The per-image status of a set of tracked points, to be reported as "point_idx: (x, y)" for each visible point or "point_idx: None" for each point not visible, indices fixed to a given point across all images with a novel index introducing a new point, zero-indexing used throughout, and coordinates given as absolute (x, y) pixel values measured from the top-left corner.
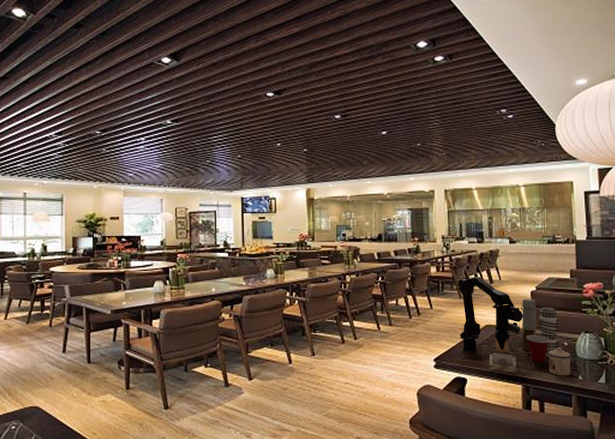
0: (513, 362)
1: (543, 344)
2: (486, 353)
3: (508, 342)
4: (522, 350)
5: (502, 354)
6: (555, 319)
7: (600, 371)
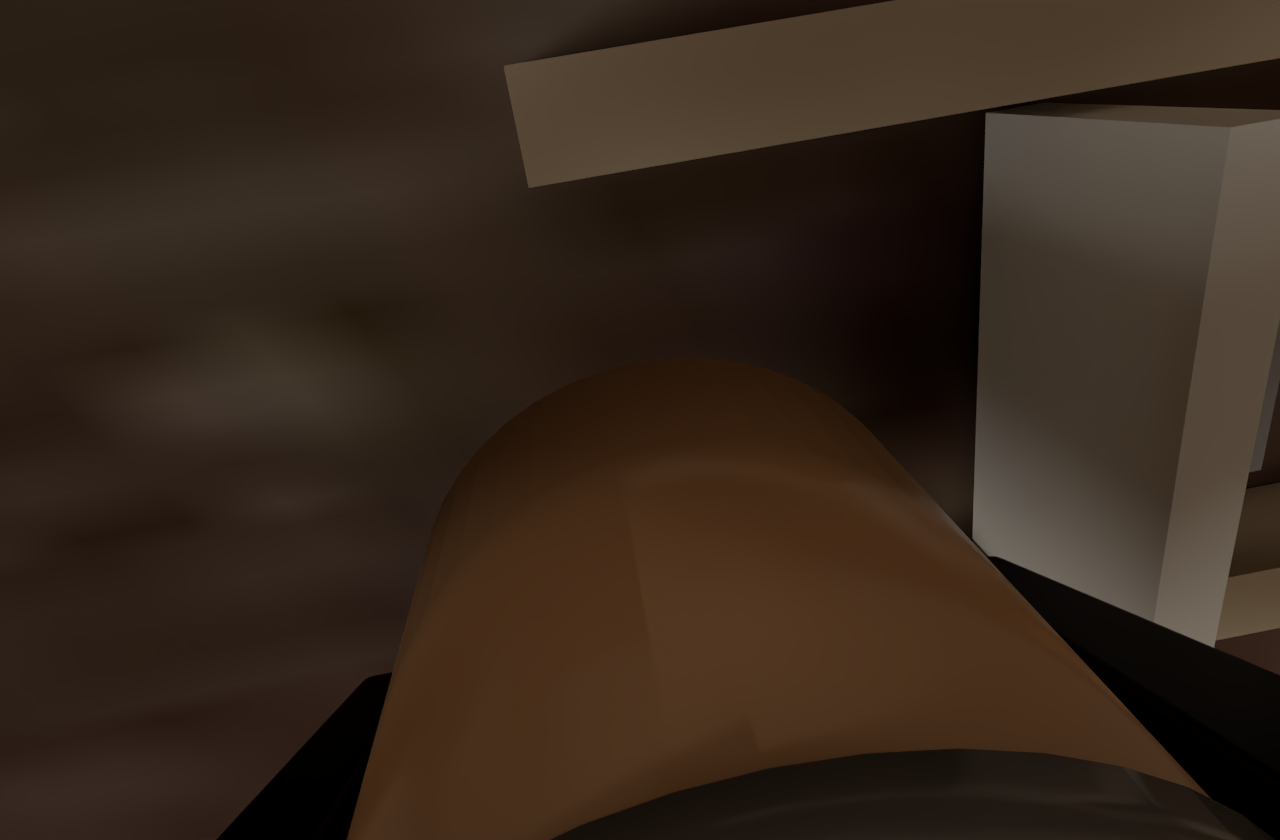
0: (1256, 30)
1: None
2: (215, 812)
3: (775, 614)
4: None
5: (1219, 467)
6: None
7: None
